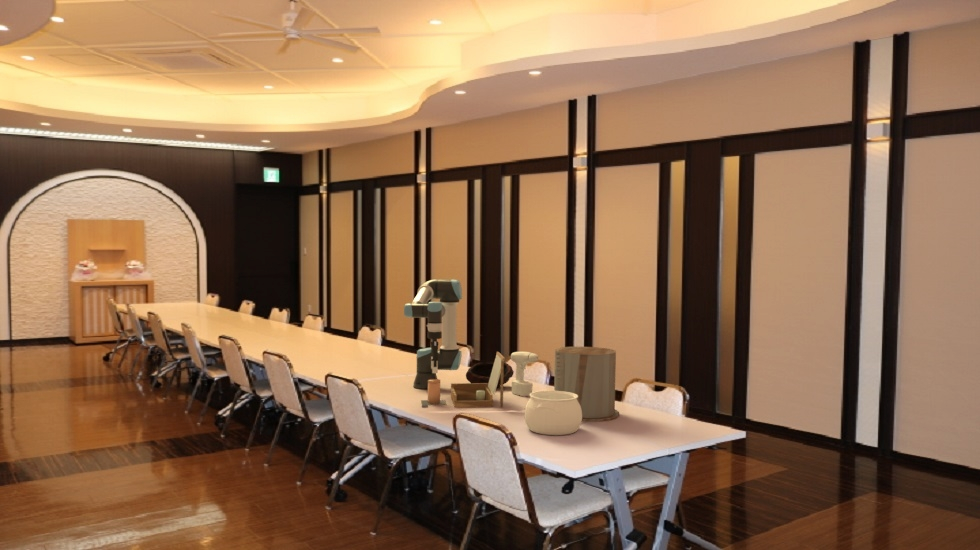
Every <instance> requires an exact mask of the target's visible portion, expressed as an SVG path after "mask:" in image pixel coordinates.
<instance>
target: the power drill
mask: <svg viewBox="0 0 980 550" xmlns="http://www.w3.org/2000/svg"><path fill="white" fill-rule="evenodd" d="M510 359H511V361H512V362H513V363H515V364H516V366H515V380H511V393H512V394H514V395H517V396H519V395H520V397H530V396H529V395H530V393H532V392H533V385H534V384H533V382H530V381H528V380H525V370H526V366H527V365H529V364H530V363H533V362H535V363H536V362H537V361H538V360H539V359H540V357H539V355H538V354H537V353H533V352H530V351H514V352H512V353H511V354H510Z"/></svg>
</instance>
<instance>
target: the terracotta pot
mask: <svg viewBox="0 0 980 550" xmlns="http://www.w3.org/2000/svg"><path fill="white" fill-rule="evenodd" d="M427 400H428V403H429V404H439V403H440V400H441V379H439V378H437V379H429V380H428V389H427Z"/></svg>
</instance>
